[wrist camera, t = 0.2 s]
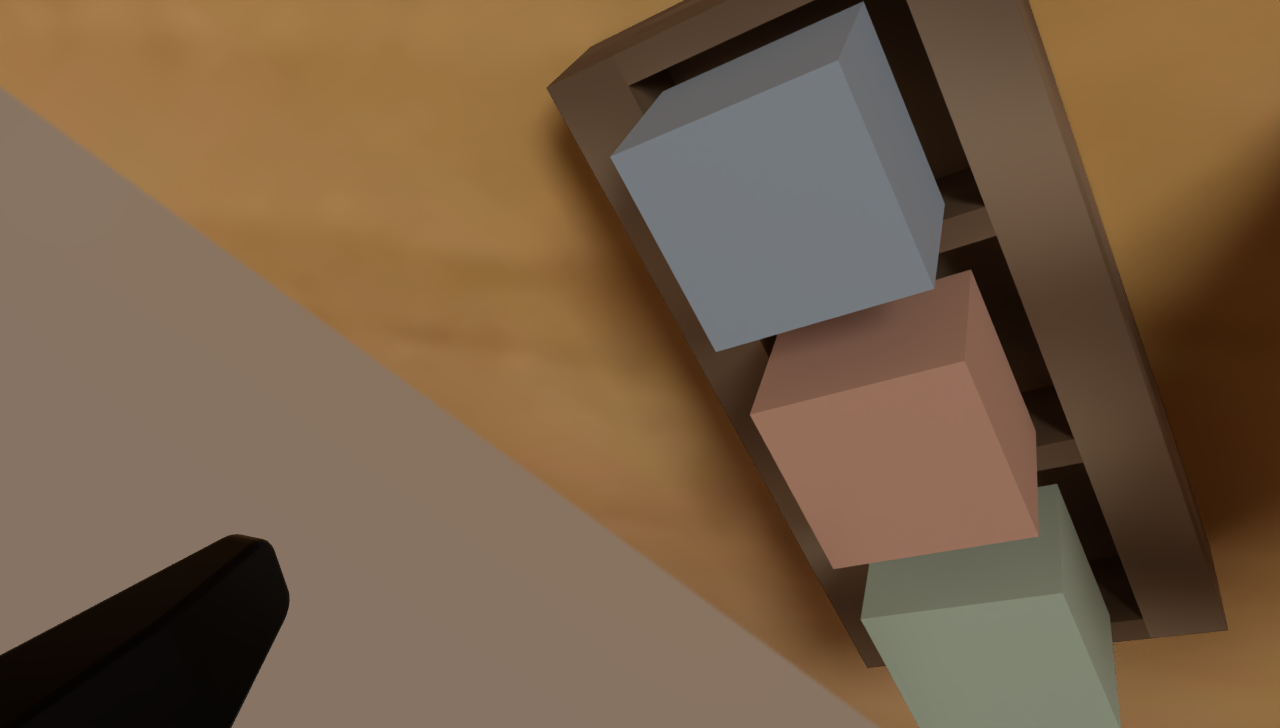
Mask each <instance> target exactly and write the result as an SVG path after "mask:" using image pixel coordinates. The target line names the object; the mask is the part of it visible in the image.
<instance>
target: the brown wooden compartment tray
mask: <svg viewBox="0 0 1280 728" xmlns="http://www.w3.org/2000/svg"><path fill="white" fill-rule="evenodd" d="M863 1H864V4H865V6H866V9H867V11H868V14H869V16H870V19H871V21H872V24H873V26H874V29H875V31H876V34H877V36H878V39H879V41H880V44H881V46H882V49H883V51H884V54H885V56H886V59H887V61H888V64H889V66H890V69H891V71H892V74H893V76H894V79H895V81H896V84H897V86H898V89H899V91H900V94H901V96H902V99H903V101H904V104H905V106H906V109H907V111H908V114H909V116H910V119H911V121H912V124H913V126H914V129H915V131H916V134H917V136H918V139H919V141H920V143H921V146H922V148H923V151H924V153H925V156H926V158H927V161H928V163H929V166H930V168H931V171H932V173H933V176H934V178H935V181H936V183H937V186H938V188H939V191H940V193H941V196H942V198H943V201H944V203H945V207H944V215H943V223H942V231H941V239H940V247H939V255H938V263H937V271H936V279H935V280H937V279H941V278H944V277H947V276H951V275H954V274H958V273H961V272H964V271H968V270H971V271H972V273H973V276H974V278H975V281H976V283H977V286H978V288H979V291H980V293H981V296H982V298H983V301H984V303H985V306H986V308H987V311H988V313H989V316H990V318H991V321H992V323H993V326H994V328H995V331H996V333H997V336H998V338H999V341H1000V343H1001V346H1002V348H1003V351H1004V353H1005V356H1006V358H1007V361H1008V363H1009V366H1010V368H1011V370H1012V373H1013V375H1014V378H1015V380H1016V383H1017V385H1018V388H1019V390H1020V393H1021V395H1022V398H1023V400H1024V403H1025V405H1026V408H1027V410H1028V413H1029V415H1030V418H1031V420H1032V423H1033V425H1034V428H1035V430H1036V454H1037V487H1042V486H1047V485H1053V484H1057V485H1058V488H1059V490H1060V493H1061V495H1062V498H1063V500H1064V503H1065V505H1066V508H1067V510H1068V513H1069V515H1070V518H1071V520H1072V523H1073V525H1074V528H1075V530H1076V533H1077V535H1078V538H1079V540H1080V543H1081V545H1082V548H1083V550H1084V553H1085V555H1086V558H1087V560H1088V563H1089V565H1090V568H1091V570H1092V573H1093V575H1094V578H1095V580H1096V583H1097V585H1098V588H1099V590H1100V592H1101V595H1102V597H1103V600H1104V602H1105V605H1106V607H1107V610H1108V612H1109V615H1110V623H1111V633H1112V642H1120V641H1130V640H1139V639H1149V638H1158V637H1168V636H1178V635H1187V634H1197V633H1206V632H1216V631H1226V630H1228V627H1227V622H1226V618H1225V613H1224V608H1223V604H1222V599H1221V595H1220V590H1219V586H1218V581H1217V577H1216V572H1215V568H1214V563H1213V559H1212V554H1211V550H1210V546H1209V543H1208V540H1207V537H1206V534H1205V531H1204V528H1203V525H1202V522H1201V519H1200V516H1199V513H1198V510H1197V507H1196V504H1195V501H1194V498H1193V495H1192V492H1191V489H1190V486H1189V483H1188V480H1187V477H1186V474H1185V471H1184V468H1183V465H1182V462H1181V459H1180V455H1179V452H1178V449H1177V446H1176V443H1175V440H1174V437H1173V434H1172V431H1171V428H1170V425H1169V422H1168V419H1167V416H1166V413H1165V410H1164V407H1163V404H1162V401H1161V398H1160V395H1159V392H1158V389H1157V386H1156V383H1155V380H1154V377H1153V374H1152V371H1151V368H1150V365H1149V362H1148V359H1147V356H1146V353H1145V350H1144V347H1143V344H1142V341H1141V338H1140V335H1139V332H1138V329H1137V326H1136V323H1135V320H1134V317H1133V314H1132V311H1131V308H1130V305H1129V302H1128V299H1127V296H1126V293H1125V290H1124V287H1123V284H1122V281H1121V278H1120V275H1119V272H1118V269H1117V266H1116V263H1115V260H1114V257H1113V254H1112V251H1111V248H1110V245H1109V242H1108V239H1107V236H1106V233H1105V230H1104V227H1103V224H1102V221H1101V218H1100V214H1099V211H1098V208H1097V205H1096V202H1095V199H1094V196H1093V193H1092V190H1091V187H1090V184H1089V181H1088V178H1087V175H1086V172H1085V169H1084V166H1083V163H1082V160H1081V157H1080V154H1079V151H1078V148H1077V145H1076V142H1075V139H1074V136H1073V133H1072V130H1071V127H1070V124H1069V121H1068V118H1067V115H1066V112H1065V109H1064V106H1063V103H1062V100H1061V97H1060V94H1059V91H1058V88H1057V85H1056V82H1055V79H1054V76H1053V73H1052V70H1051V67H1050V64H1049V61H1048V58H1047V55H1046V52H1045V49H1044V46H1043V43H1042V40H1041V37H1040V34H1039V31H1038V28H1037V25H1036V22H1035V19H1034V16H1033V13H1032V10H1031V7H1030V4H1029V1H1028V0H684V1H682V2H680V3H678V4H676V5H674V6H672V7H670V8H668V9H666V10H664V11H662V12H660V13H658V14H656V15H654V16H652V17H650V18H648V19H646V20H644V21H642V22H640V23H638V24H636V25H634V26H632V27H630V28H628V29H626V30H624V31H622V32H620V33H618V34H616V35H614V36H612V37H610V38H608V39H606V40H604V41H602V42H600V43H598V44H596V45H594V46H592V47H590V48H589V49H588V50H587V51H586V52H585V53H584V54H583V55H581V56H580V57H579V58H578V59H577V60H576V61H575V62H574V63H573V64H572V65H571V66H570V67H568V68H567V69H566V70H565V71H564V72H563V73H562V74H561V75H560V76H559V77H558V78H557V79H555V80H554V81H553V82H552V83H551V84H550V85H549V86H548V87H547V90H548V91H549V93H550V95H551V97H552V99H553V101H554V102H555V104H556V106H557V108H558V110H559V111H560V113H561V115H562V117H563V119H564V120H565V122H566V124H567V126H568V128H569V129H570V131H571V133H572V135H573V137H574V138H575V140H576V142H577V144H578V146H579V148H580V149H581V151H582V153H583V155H584V157H585V158H586V160H587V162H588V164H589V166H590V167H591V169H592V171H593V173H594V175H595V176H596V178H597V180H598V182H599V184H600V185H601V187H602V189H603V191H604V193H605V195H606V196H607V198H608V200H609V202H610V204H611V205H612V207H613V209H614V211H615V213H616V214H617V216H618V218H619V220H620V222H621V223H622V225H623V227H624V229H625V231H626V232H627V234H628V236H629V238H630V240H631V242H632V243H633V245H634V247H635V249H636V251H637V252H638V254H639V256H640V258H641V260H642V261H643V263H644V265H645V267H646V269H647V270H648V272H649V274H650V276H651V278H652V279H653V281H654V283H655V285H656V287H657V289H658V290H659V292H660V294H661V296H662V298H663V299H664V301H665V303H666V305H667V307H668V308H669V310H670V312H671V314H672V316H673V317H674V319H675V321H676V323H677V325H678V326H679V328H680V330H681V332H682V334H683V336H684V337H685V339H686V341H687V343H688V345H689V346H690V348H691V350H692V352H693V354H694V355H695V357H696V359H697V361H698V363H699V364H700V366H701V368H702V370H703V372H704V373H705V375H706V377H707V379H708V381H709V383H710V384H711V386H712V388H713V390H714V392H715V393H716V395H717V397H718V399H719V401H720V402H721V404H722V406H723V408H724V410H725V411H726V413H727V415H728V417H729V419H730V421H731V422H732V424H733V426H734V428H735V430H736V431H737V433H738V435H739V437H740V439H741V440H742V442H743V444H744V446H745V448H746V449H747V451H748V453H749V455H750V457H751V458H752V460H753V462H754V464H755V466H756V468H757V469H758V471H759V473H760V475H761V477H762V478H763V480H764V482H765V484H766V486H767V487H768V489H769V491H770V493H771V495H772V496H773V498H774V500H775V502H776V504H777V505H778V507H779V509H780V511H781V513H782V515H783V516H784V518H785V520H786V522H787V524H788V525H789V527H790V529H791V531H792V533H793V534H794V536H795V538H796V540H797V542H798V543H799V545H800V547H801V549H802V551H803V552H804V554H805V556H806V558H807V560H808V562H809V563H810V565H811V567H812V569H813V571H814V572H815V574H816V576H817V578H818V580H819V581H820V583H821V585H822V587H823V589H824V590H825V592H826V594H827V596H828V598H829V599H830V601H831V603H832V605H833V607H834V609H835V610H836V612H837V614H838V616H839V618H840V619H841V621H842V623H843V625H844V627H845V628H846V630H847V632H848V634H849V636H850V637H851V639H852V641H853V643H854V645H855V646H856V648H857V650H858V652H859V654H860V656H861V657H862V659H863V661H864V663H865V665H866V666H867V668H871V667H880V666H886V665H885V663H884V661H883V660H882V658H881V656H880V654H879V652H878V650H877V649H876V647H875V645H874V643H873V641H872V639H871V637H870V636H869V634H868V632H867V630H866V628H865V626H864V625H863V623H862V621H861V614H862V607H863V601H864V595H865V588H866V582H867V576H868V569H869V564H862V565H856V566H850V567H843V568H837V569H833V567H832V566H831V564H830V562H829V560H828V558H827V556H826V554H825V553H824V551H823V549H822V547H821V545H820V543H819V542H818V540H817V538H816V536H815V534H814V532H813V530H812V529H811V527H810V525H809V523H808V521H807V519H806V518H805V516H804V514H803V512H802V510H801V508H800V506H799V505H798V503H797V501H796V499H795V497H794V495H793V494H792V492H791V490H790V488H789V486H788V484H787V482H786V481H785V479H784V477H783V475H782V473H781V471H780V470H779V468H778V466H777V464H776V462H775V460H774V458H773V457H772V455H771V453H770V451H769V449H768V447H767V446H766V444H765V442H764V440H763V438H762V436H761V434H760V433H759V431H758V429H757V427H756V425H755V423H754V422H753V420H752V418H751V416H750V412H751V410H752V407H753V404H754V401H755V398H756V395H757V392H758V389H759V387H760V384H761V381H762V378H763V375H764V372H765V369H766V367H767V364H768V361H769V358H770V355H771V352H772V349H773V346H774V344H775V341H776V338H777V335H778V334H777V335H773V336H770V337H766V338H763V339H759V340H756V341H752V342H749V343H746V344H742V345H739V346H735V347H732V348H728V349H725V350H721V351H718V352H716V351H715V350H714V348H713V346H712V344H711V342H710V340H709V338H708V337H707V335H706V333H705V331H704V329H703V327H702V326H701V324H700V322H699V320H698V318H697V316H696V314H695V313H694V311H693V309H692V307H691V305H690V303H689V302H688V300H687V298H686V296H685V294H684V292H683V290H682V289H681V287H680V285H679V283H678V281H677V279H676V278H675V276H674V274H673V272H672V270H671V268H670V267H669V265H668V263H667V261H666V259H665V257H664V255H663V254H662V252H661V250H660V248H659V246H658V244H657V243H656V241H655V239H654V237H653V235H652V233H651V231H650V230H649V228H648V226H647V224H646V222H645V220H644V219H643V217H642V215H641V213H640V211H639V209H638V207H637V206H636V204H635V202H634V200H633V198H632V196H631V195H630V193H629V191H628V189H627V187H626V185H625V183H624V182H623V180H622V178H621V176H620V174H619V172H618V171H617V169H616V167H615V165H614V163H613V161H612V159H611V158H610V156H611V155H612V154H613V153H614V151H615V150H616V149H617V148H618V146H619V145H620V144H621V143H622V142H623V140H624V139H625V138H626V137H627V135H628V134H629V133H630V132H631V130H632V129H633V128H634V127H635V125H636V124H637V123H638V122H639V120H640V119H641V118H642V117H643V115H644V114H645V113H646V112H647V111H648V109H649V108H650V107H651V106H652V104H653V103H654V102H655V101H656V99H657V98H658V97H659V96H660V94H661V93H662V92H663V91H665V90H667V89H669V88H672V87H674V86H676V85H678V84H681V83H683V82H685V81H687V80H689V79H692V78H694V77H696V76H698V75H701V74H703V73H705V72H707V71H709V70H712V69H714V68H716V67H718V66H721V65H723V64H725V63H727V62H730V61H732V60H734V59H736V58H738V57H741V56H743V55H745V54H747V53H750V52H752V51H754V50H756V49H758V48H761V47H763V46H765V45H767V44H770V43H772V42H774V41H776V40H778V39H781V38H783V37H785V36H787V35H790V34H792V33H794V32H796V31H799V30H801V29H803V28H805V27H807V26H810V25H812V24H814V23H816V22H819V21H821V20H823V19H825V18H827V17H830V16H832V15H834V14H836V13H839V12H841V11H843V10H845V9H847V8H850V7H852V6H854V5H856V4H859V3H861V2H863Z"/></svg>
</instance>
